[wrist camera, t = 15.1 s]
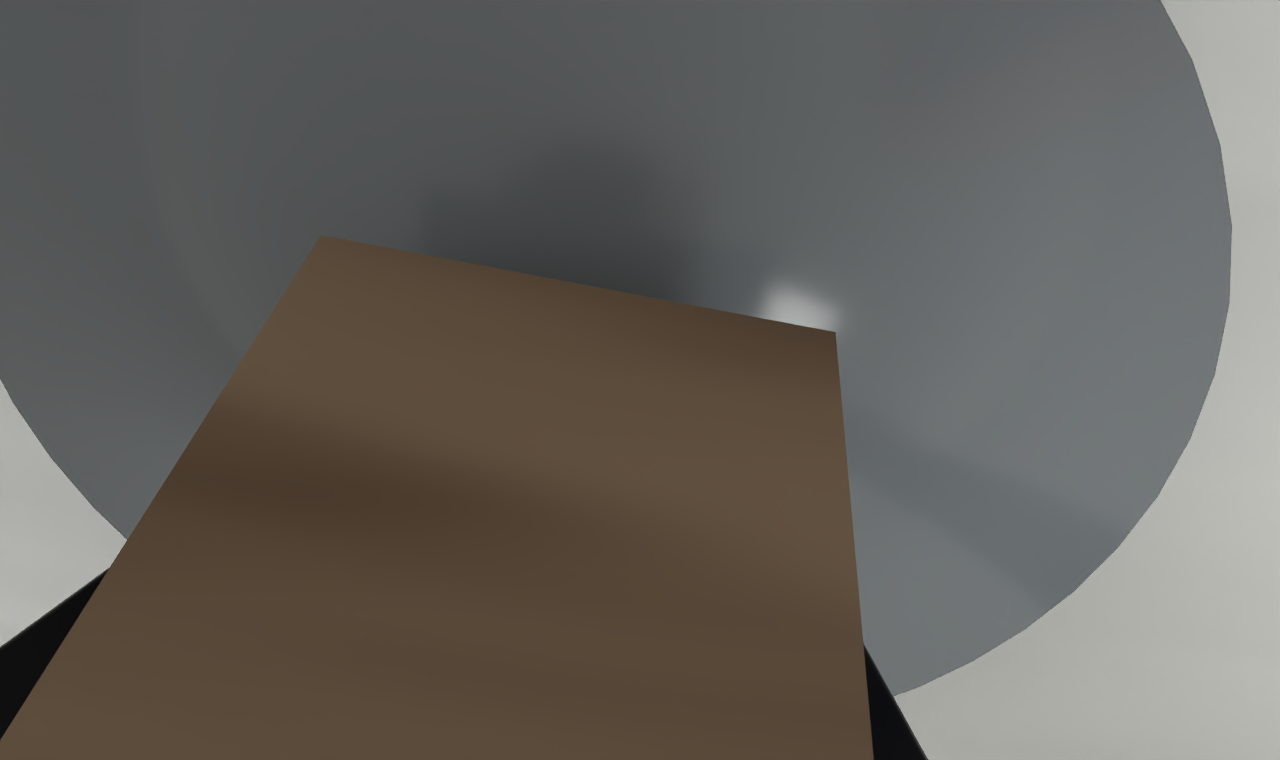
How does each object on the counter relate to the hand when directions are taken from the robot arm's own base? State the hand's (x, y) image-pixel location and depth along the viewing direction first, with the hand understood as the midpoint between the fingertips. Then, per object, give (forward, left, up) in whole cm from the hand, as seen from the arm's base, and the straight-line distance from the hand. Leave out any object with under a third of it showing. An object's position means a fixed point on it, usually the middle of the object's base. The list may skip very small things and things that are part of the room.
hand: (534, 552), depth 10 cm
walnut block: (0, 0, -1) cm, 1 cm away
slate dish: (0, 0, -4) cm, 4 cm away
